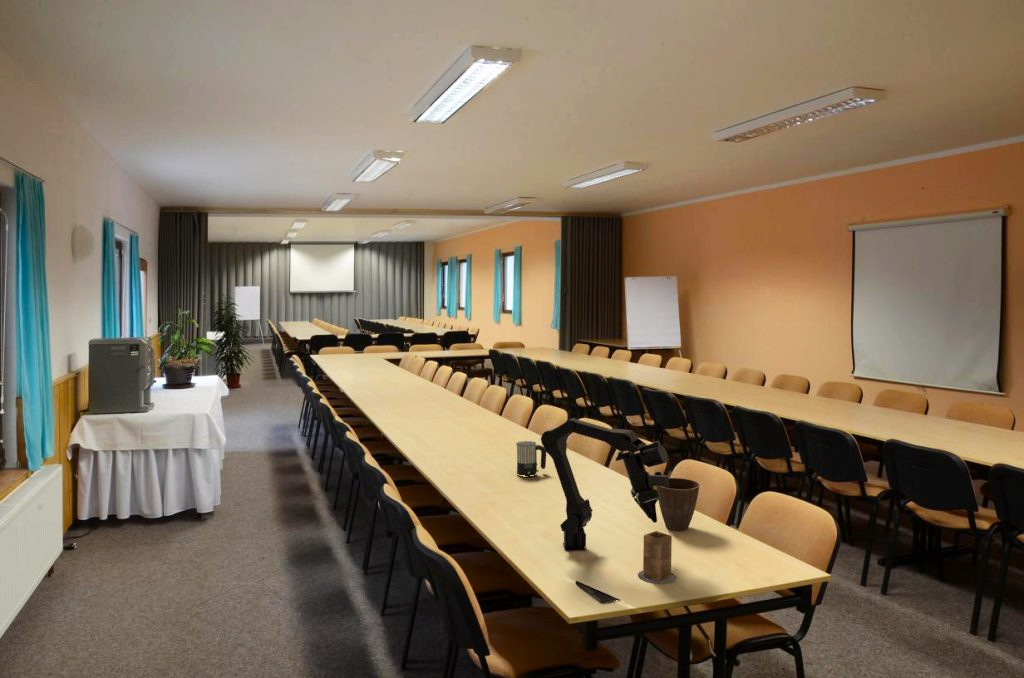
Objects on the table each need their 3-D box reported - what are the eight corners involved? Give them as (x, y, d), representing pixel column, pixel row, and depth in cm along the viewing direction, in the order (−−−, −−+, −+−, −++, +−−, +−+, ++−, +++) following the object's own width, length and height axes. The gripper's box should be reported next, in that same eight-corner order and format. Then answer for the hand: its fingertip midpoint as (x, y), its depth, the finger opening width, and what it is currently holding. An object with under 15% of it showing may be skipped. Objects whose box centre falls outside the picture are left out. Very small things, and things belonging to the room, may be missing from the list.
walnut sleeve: (643, 575, 206) (643, 535, 205) (655, 571, 210) (656, 530, 209) (658, 581, 202) (659, 540, 201) (671, 576, 205) (671, 535, 205)
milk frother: (522, 478, 319) (522, 445, 318) (505, 471, 332) (505, 439, 332) (549, 474, 326) (549, 442, 325) (531, 467, 340) (531, 436, 339)
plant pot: (697, 537, 242) (698, 490, 241) (653, 532, 246) (653, 487, 245) (699, 523, 256) (700, 479, 255) (657, 519, 261) (657, 476, 260)
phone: (597, 576, 207) (626, 596, 193) (597, 580, 207) (626, 600, 193) (573, 580, 203) (600, 601, 190) (573, 584, 204) (600, 605, 190)
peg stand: (629, 578, 207) (629, 565, 206) (654, 569, 214) (654, 556, 213) (660, 590, 198) (660, 576, 198) (684, 580, 205) (684, 567, 205)
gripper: (666, 464, 210) (684, 516, 208) (656, 460, 229) (673, 508, 227) (630, 476, 210) (647, 527, 208) (623, 471, 229) (639, 519, 227)
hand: (653, 520), depth 218 cm, fingers open, 9 cm apart
